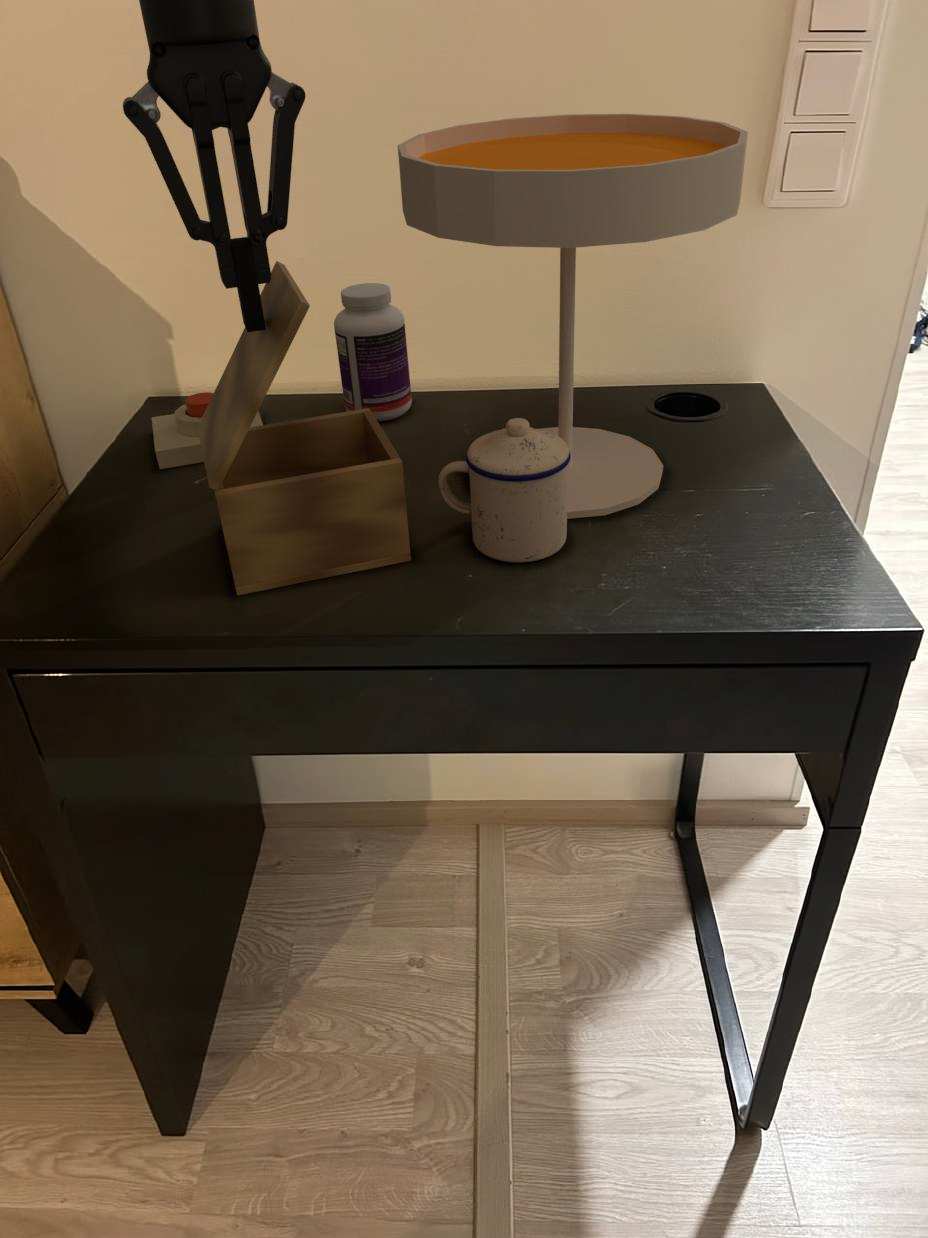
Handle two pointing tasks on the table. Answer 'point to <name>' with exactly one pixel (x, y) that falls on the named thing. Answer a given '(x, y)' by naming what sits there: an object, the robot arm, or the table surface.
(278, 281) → the wooden box lid
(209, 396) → the button
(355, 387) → the pill bottle
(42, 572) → the table surface
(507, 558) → the teacup with lid
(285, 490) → the lid box
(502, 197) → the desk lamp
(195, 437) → the button box
